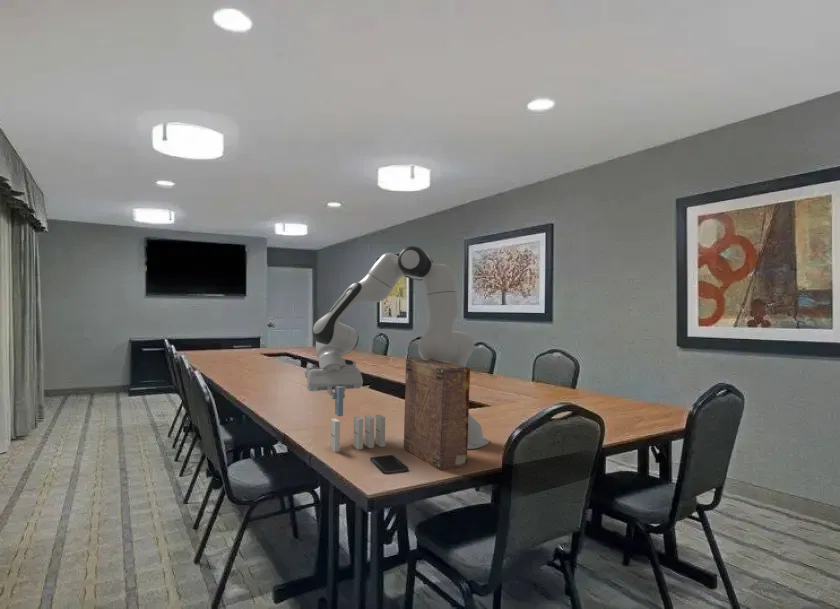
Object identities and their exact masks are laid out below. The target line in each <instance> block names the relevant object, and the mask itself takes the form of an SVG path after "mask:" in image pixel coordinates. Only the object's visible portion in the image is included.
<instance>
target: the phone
mask: <svg viewBox="0 0 840 609" xmlns="http://www.w3.org/2000/svg"><path fill="white" fill-rule="evenodd" d="M369 461H370V462H371V464H373V465H374V466H375V467H376V468H377V469H378V470H379V471H380V472H381V473H382V474H383V475H390V474H391V475H392V474H398V473H407V472H408V471H409V467H408V466H407V465H406V464H405V463H403V461H401V460H400V459H398V457H396V456H395V455H393V454H391V455H390V454H389V455H381V456H380V455H379V456H371V457H369Z"/></svg>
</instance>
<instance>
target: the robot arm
mask: <svg viewBox="0 0 840 609" xmlns="http://www.w3.org/2000/svg"><path fill="white" fill-rule="evenodd" d="M403 277H404V278H408V279H411V280H414V281H423V282H424V286H425V291H426V292H425V294H426V302H427V303H426V304H427V324H426V328H425V331H424V333H423V335H422V337H421V338H420V339H419V341H418V345H417V349H418V350H417V351H418V355H419V356H420V358H421V359H422V361H424V360H429V359H435V360H439V361H443V362H447V363H451V364H455V365H459V366H463V367H467V366H466V365H467V363H468V360H469V358H470V357H471V355H472V354H473V352H474V350H475V342H474V339H473V338H472V336H471V335H470V334H468V333H467V332H463V331H459V330H453V327H454V321H455V319H456V318H457V317H458V315H459V312H460V310H459V305H458V304H459V303H458V294H457V286H456V280H455V277H454V273H453V270H452V268H451V267H450V266H449V265H448V264H445V263H434V260H433V259H432V257H431V256H430V255H429V254H428V253H427V252H426V250H423V249H422V248H421V247H419V246H415V245H413V246H407V247H404V248H403V249H402V250H400V253H399V254H398V255H397V254H395V253H392V252H386V253H383V254H382V255H381V256H380V257H379V258H378V259H377V261H376V262H375V263H374V264H373V265H372V266H371V268H370V269H369V271H368V272H367V273H366V275H365V276H364V277H363V278H362V279H361V280H359V281H357V282H354V283H352V284H350V285H349V286H348V287H347V288H346V289H345V290H344V292H342V294H341V295H339V297H338V298H337V300H335V302H334V303H333V304H332V305H331V306H330V307H329V308H328V310H327V311H326V312H325V313H323V315H321V316H320V317H319V318H318V319H317V320H316V321H315V322H314V324H313V325H312V335H313V338H314V340H315V350H316V355H317V358H318V365H319V367H309V368H307V369H306V370H305V371H304V375H305V378H306V388H307V390H308V391H309V392H319V391H320V392H322V391H326V393H327V394H328V395H330V397H331V400H335V399H336V397H337V396H336V393H335V386H341V387H343V399H345V398H346V394H345V392H346V390H353V389H354V390H355V389H356V390H357V389H361V388H362V386H363V383H364V380H363V376H362V373H361V371H360V369H359V368H358V367H357V362H356V361H355V360H352V359H348V358H345V357H343V356H346V355H347V354H349V353H350V352H352V351H353V350H355V348H357V346H358V343H359V333H358V330H357V329H355V328H354V327H352V326H349V325H347V324H344V323H343V322H341V321H340V320H342V318H343V317H344V316H345V314H347V312H348V311H349V309H350V308H351V307H352V306H354V305H356V304H358V303H373V304H374V303H381V302H382V301H384V300H385V299H387V297H388V296H389V295H390V294H391V292H392V290H393V289H394V287H395V286H396V284H397V283H398V281H399V280H400V279H401V278H403ZM489 443H490V439H489V438H487V437H484V435H483V429H482V425H481V424H480V423H479V422H478V421H477V420H476V419H475V418H474V417H473V416H472V415H471V414H470V413H469V416H468V446H467V450H472V449H474V450H475V449H479V448H482V447H484V446H487V445H488V444H489Z"/></svg>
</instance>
